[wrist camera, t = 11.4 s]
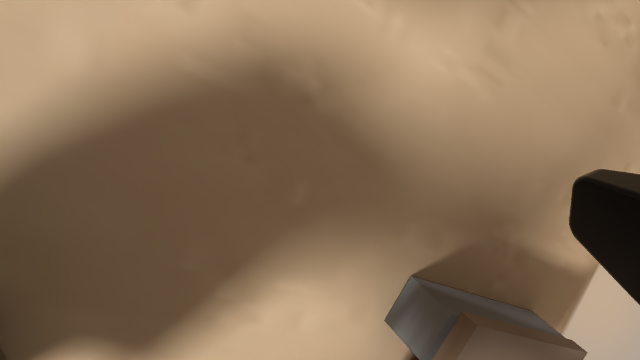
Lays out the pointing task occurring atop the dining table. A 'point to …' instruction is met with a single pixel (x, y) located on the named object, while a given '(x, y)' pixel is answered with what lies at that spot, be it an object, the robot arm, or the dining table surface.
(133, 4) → the dining table surface
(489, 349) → the plank bridge
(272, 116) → the dining table surface
